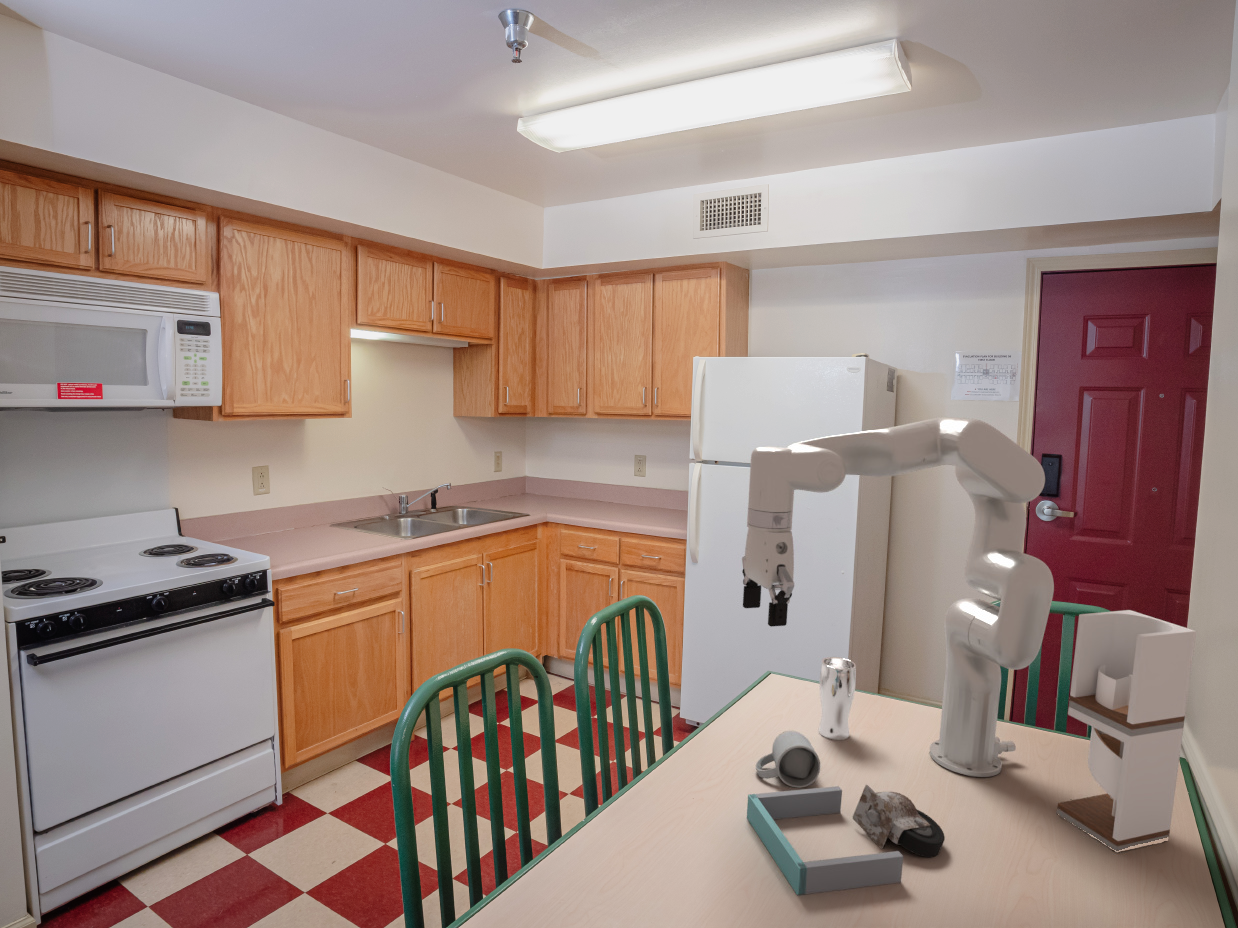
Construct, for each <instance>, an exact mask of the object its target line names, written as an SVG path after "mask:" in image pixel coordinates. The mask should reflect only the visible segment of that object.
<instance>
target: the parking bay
mask: <svg viewBox="0 0 1238 928" xmlns="http://www.w3.org/2000/svg"><path fill="white" fill-rule="evenodd" d="M842 795H843V790H842V788H841V787H840V786H839V785H837V786H828V787H827V786H826V787H816V788H815V787H814V788H806V789H794V790H784V791H783V790H782V791H772V792H761V793H751V794H747V803H746V804H747V809H746V819H747V821H748V822H749V823H750V825H751V826H752V828H753V829H754V831H755V833H756V834H757V836H758V837H759V839H760V841H761V842H762V843H763V844H764V846H765V848H766V850H767V851H768V852H769V854H770V855H771V858H773V860H774V862H775V863H776V865H777V866H778V868H779V869H780V871H781V873H782V875H783V876H784V877H785V879H786V880H787V882H788V883H789V885H790V886H791V888H792V890H793V891H794V892H795V894H796V895H797V896H802V895H808V894H809V895H810V894H818V893H819V894H820V893H827V892H833V891H841V890H851V889H857V888H865V887H866V888H867V887H874V886H880V885H881V886H882V885H889V884H897V883H901V882H902V878H903V877H902V875H903V866H904V865H903V862H904V855H903V854H902V853H901V852H900V851H899V850H896V851H895V850H894V851H888V852H878V853H870V854H863V855H853V856H845V857H843V856H842V857H836V858H834V857H833V858H827V859H818V860H810V861H804V860H802V859H801V857H800V856H799V854H798V853H797V852H796V850H795V848H794V846H793V845H792V844H791V843H790V842H789V840H788V839H787V837H786V836H785V834H784V832H783V831H782V830H781V829H780V827H779V826H778V824H777V823H776V821H775V820H781V819H783V820H784V819H791V818H792V819H793V818H801V817H810V816H820V815H821V816H822V815H832V814H840V813H841V811H842V810H841V808H842V797H843V796H842Z"/></svg>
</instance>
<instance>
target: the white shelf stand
mask: <svg viewBox="0 0 1238 928" xmlns="http://www.w3.org/2000/svg"><path fill="white" fill-rule="evenodd" d="M1196 636H1197V630H1194V629H1190V628H1188V627H1185V626H1181V625H1178V624H1175V623H1171V622H1169V621H1165V620H1162V619H1159V618H1157V617H1156V618H1155V617H1153V616H1150V615H1146V614H1143V613H1141V612H1137V611H1136V610H1131V609H1126V610H1125V609H1123V610H1113V611H1103V612H1094V613H1093V612H1091V613H1081V614H1080V613H1079V615H1078V622H1077V629H1076V640H1075V647H1074V648H1075V649H1074V658H1073V667H1072V674H1071V682H1070V695H1069V702H1068V709H1067V710H1068V711H1067V715H1068V716H1070V717H1072V718H1074V719H1076V720H1078V721H1079V722H1082V723H1084V724H1086V725H1088V726H1091V732H1090V741H1089V749H1088V750H1089V751H1088V757H1087V766H1088V769H1089V772H1090V774H1091V776H1092V778H1093V779H1094V781H1095V782H1096V783H1097V784H1098V785H1099V787H1100V788H1101V789H1102V790H1103V791H1105V793H1103V794H1097V795H1093V796H1087V797H1082V798H1076V799H1073V800H1068V801H1062V802H1058V803H1057V806H1056V807H1057V809H1056V815H1057V814H1059V815H1060V816H1061V817H1063V818H1065V819H1066V820H1068V821H1069V822H1071V823H1073V824H1074V825H1076V826H1077V827H1079V828H1081V829H1082V830H1084V831H1086V832H1087V833H1089V834H1091V835H1093V836H1094V837H1096V838H1097V839H1099V840H1100V841H1102V842H1103V843H1105V844H1106V845H1107V846H1109V847H1111V848H1112V849H1114V850H1116V851H1119V850H1122V849H1125V848H1128V847H1130V846H1135V845H1138V844H1143V843H1148V842H1151V841H1155V840H1159V839H1163V838H1167V837H1169V838H1170V832H1171V825H1172V817H1173V811H1174V809H1173V808H1174V803H1175V795H1176V788H1177V787H1176V786H1177V781H1178V780H1177V779H1178V778H1177V777H1178V772H1179V764H1180V759H1181V758H1180V757H1181V749H1182V742H1183V735H1184V728H1185V727H1184V726H1185V718H1186V711H1187V705H1188V695H1189V690H1190V689H1189V688H1190V682H1191V681H1190V680H1191V675H1192V673H1191V672H1192V667H1193V659H1194V652H1195V645H1196ZM1060 816H1059V817H1060ZM1061 817H1060V818H1061ZM1063 818H1062V819H1063ZM1066 820H1065V821H1066ZM1069 822H1068V823H1069ZM1071 823H1070V824H1071ZM1074 825H1073V826H1074ZM1077 827H1076V828H1077Z"/></svg>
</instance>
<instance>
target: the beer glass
mask: <svg viewBox="0 0 1238 928" xmlns="http://www.w3.org/2000/svg"><path fill="white" fill-rule="evenodd" d="M856 667H857V664H856V663H855V662H854V661H852V660H850V659H848V658H844V657H837V656H829V657H825V658H823V659H822V661H821V667H820V668H821V669H820V675H819V696H820V697H819V698H820V706H821V707H820V708H821V717H820V721H819V722H820V723H819V726H818V733H819V734H820V735H821V736H822V737H824V738H826V739H829V740H834V741H843V740H847V739H848V738H849V737H850V728H849V717H850V711H851V708H852V705H853V700H854V698H855V691H856V679H857V675H856V674H857V672H856V670H857V669H856Z"/></svg>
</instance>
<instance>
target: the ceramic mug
mask: <svg viewBox="0 0 1238 928" xmlns="http://www.w3.org/2000/svg"><path fill="white" fill-rule="evenodd" d="M772 743H773V744H772V751H771V753H768V754H766V755H764V756H762V757H760V758H759V759H758V760H757V761H756V763H755V770H756V772H757V775H758V777H759V778H761V779H773V778H777V777H779V778H780V780H781V781H782V782H783V783H784V784H786V785H787V786H790V787H792V788H796V789H797V788H799V789H801V788H806V787H809V786H810V785H812V784H813V783H814V782H815V781H816V780H817V779H818V777H819V776H820V771H821V760H820V758H819V756H818V753H817V752H816V751H815V748H814V747H813V745H812V744H811V742H810V741H809V739H808V738H807V737H806V736H805V735H804V734H802V733H801V732H798V731H796V730H785V731H783V732H781V733H779V734H778V735H777V736H776V738H775V739H774V741H773V742H772ZM770 763H774V764H775V767H773V768H769V769H763V767H764V766H766V765H768V764H770Z"/></svg>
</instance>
